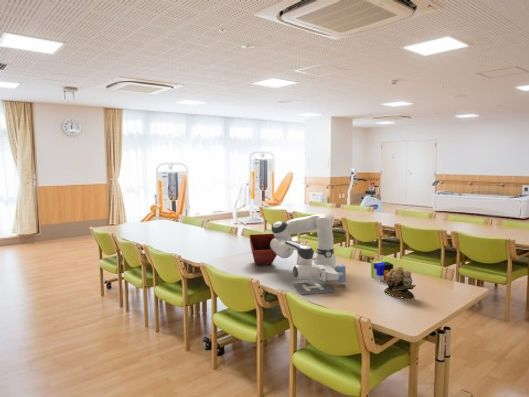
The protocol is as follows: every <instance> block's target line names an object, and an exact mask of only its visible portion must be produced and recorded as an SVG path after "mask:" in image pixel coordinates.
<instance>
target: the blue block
mask: <svg viewBox="0 0 529 397" xmlns="http://www.w3.org/2000/svg"><path fill="white" fill-rule="evenodd" d="M336 269H337V272H343V275H340V276H339V279H338V280H336V281H338V283H346V281H347V280H346V265H345V264H337V267H336Z"/></svg>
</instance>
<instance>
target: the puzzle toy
mask: <svg viewBox="0 0 529 397" xmlns="http://www.w3.org/2000/svg"><path fill="white" fill-rule="evenodd" d="M391 269H394V264H393V263H391V262H389V261H386V260H375V261H371V263H370V277H371V276H372V277H371V278H373V279H375V280H376V279H377V281H378V280H384V281H386V274H388V273H389V272H390V270H391Z"/></svg>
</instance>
